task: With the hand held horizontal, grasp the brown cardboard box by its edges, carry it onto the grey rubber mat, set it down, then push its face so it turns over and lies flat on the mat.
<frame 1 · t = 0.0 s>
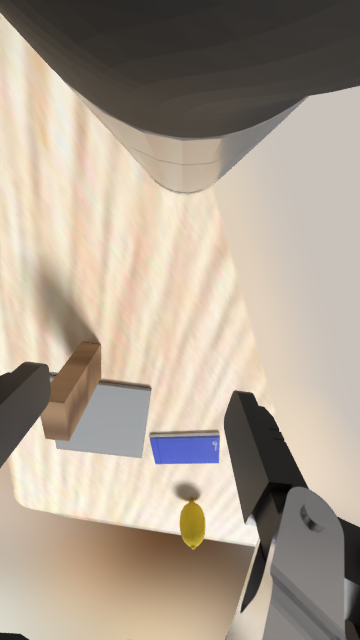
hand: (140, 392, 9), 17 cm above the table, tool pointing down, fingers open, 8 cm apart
grey mat: (100, 419, 36), on the table
lemon: (191, 499, 49), on the table
brown cardboard box: (92, 360, 30), on the table
hard drive: (185, 443, 40), on the table
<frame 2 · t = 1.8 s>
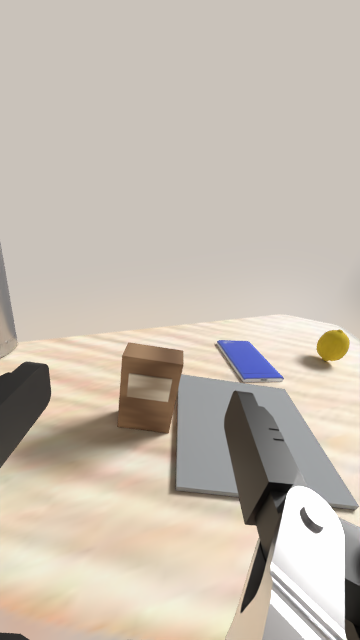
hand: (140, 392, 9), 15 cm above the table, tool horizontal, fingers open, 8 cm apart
grey mat: (245, 426, 27), on the table
lemon: (323, 361, 48), on the table
brown cardboard box: (144, 420, 25), on the table
hard drive: (245, 363, 42), on the table
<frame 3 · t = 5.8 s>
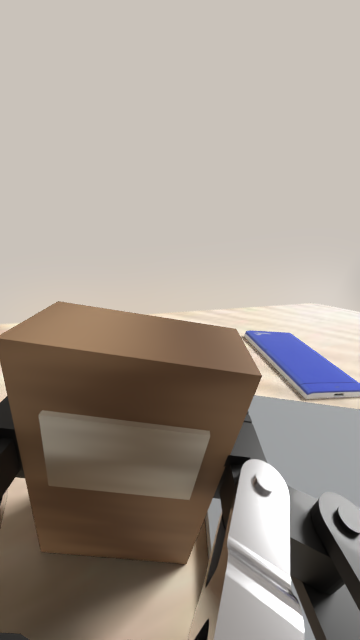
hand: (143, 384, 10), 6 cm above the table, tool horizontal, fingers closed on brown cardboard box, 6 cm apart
brown cardboard box: (122, 519, 10), on the table, touching gripper
hard drive: (293, 366, 27), on the table
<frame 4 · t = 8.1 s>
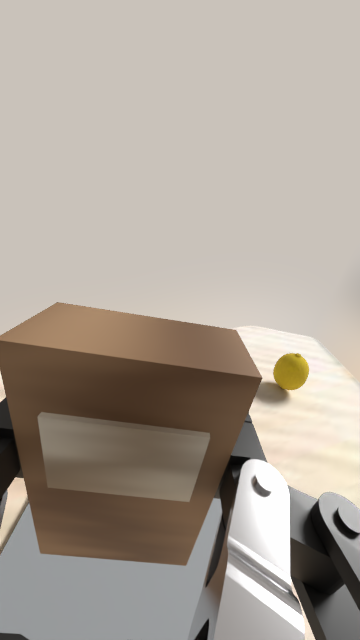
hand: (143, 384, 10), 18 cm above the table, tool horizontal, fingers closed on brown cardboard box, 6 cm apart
grey mat: (130, 512, 19), on the table
lemon: (282, 389, 40), on the table
brown cardboard box: (122, 520, 10), point 12 cm above the table, touching gripper
when the fingers open (7 cm above the table, at t = 10.7 s): brown cardboard box stays where it is, resting on grey mat.
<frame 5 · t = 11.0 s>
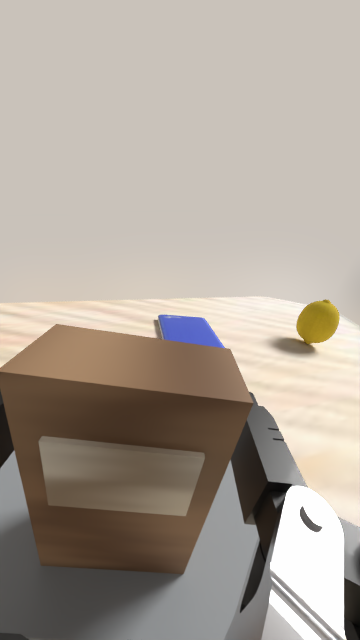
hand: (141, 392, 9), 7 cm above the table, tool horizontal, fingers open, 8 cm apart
grey mat: (139, 440, 15), on the table
lemon: (306, 344, 36), on the table
brown cardboard box: (121, 530, 10), point 1 cm above the table, touching grey mat
hard drive: (188, 344, 30), on the table
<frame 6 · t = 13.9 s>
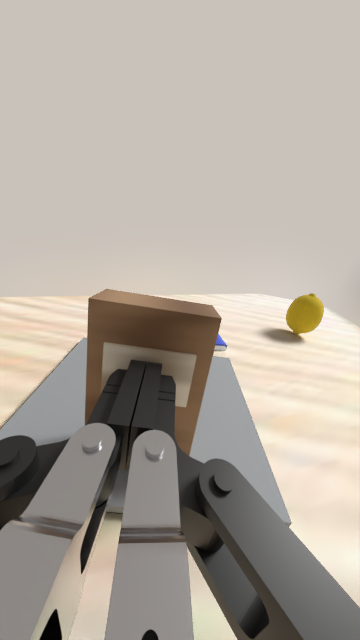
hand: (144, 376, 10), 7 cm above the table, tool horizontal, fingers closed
grey mat: (148, 400, 18), on the table
lemon: (295, 335, 39), on the table
brown cardboard box: (138, 451, 13), point 1 cm above the table, tilted 6°, touching grey mat
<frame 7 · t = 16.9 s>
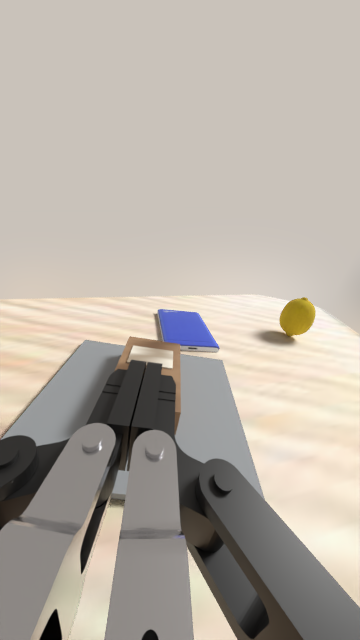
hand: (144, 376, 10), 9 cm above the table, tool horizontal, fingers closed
grey mat: (144, 400, 20), on the table
lemon: (288, 336, 41), on the table
brown cardboard box: (139, 419, 16), point 2 cm above the table, tilted 90°, touching grey mat
hard drive: (183, 334, 36), on the table
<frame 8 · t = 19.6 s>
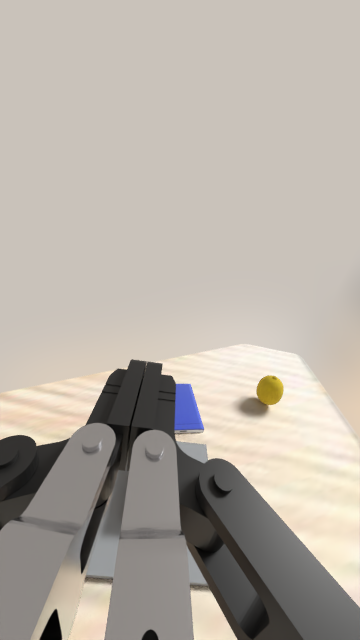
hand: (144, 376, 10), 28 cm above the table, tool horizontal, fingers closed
grey mat: (149, 493, 30), on the table
lemon: (263, 403, 50), on the table
hard drive: (177, 409, 45), on the table
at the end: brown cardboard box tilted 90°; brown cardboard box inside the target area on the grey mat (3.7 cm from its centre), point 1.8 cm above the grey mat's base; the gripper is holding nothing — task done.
